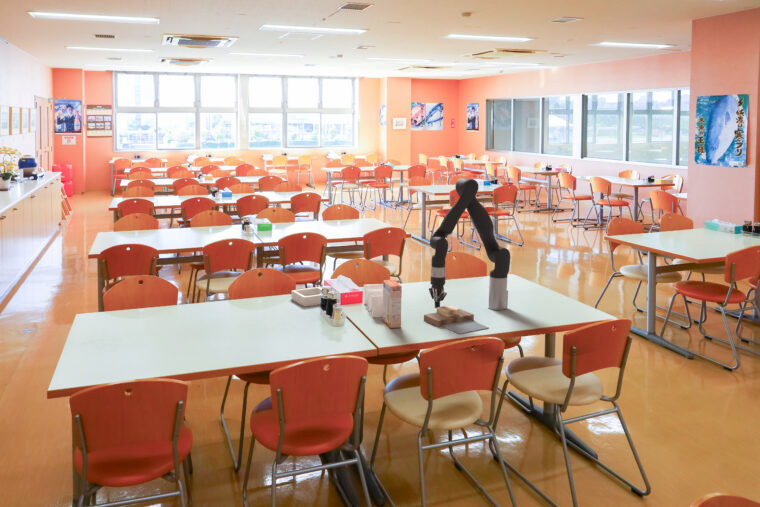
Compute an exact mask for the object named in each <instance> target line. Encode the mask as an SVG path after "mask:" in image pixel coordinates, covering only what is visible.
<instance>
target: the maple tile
mask: <svg viewBox="0 0 760 507" xmlns="http://www.w3.org/2000/svg"><path fill="white" fill-rule="evenodd" d="M459 309H460V308H458V307H455V306H452V305H450V304H449V305H443V306H440V307H437V309H436V313H437V314H440V315H442V316H444V317H451V316H456V315H459Z"/></svg>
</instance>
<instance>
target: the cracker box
mask: <svg viewBox="0 0 760 507" xmlns="http://www.w3.org/2000/svg"><path fill="white" fill-rule="evenodd" d="M382 284H383V317H382V321H383V322H384V323H385V325H386V326H387V327H388V328H389V329H398V328H401V327H402V295H403V294H402V293H403V292H402V291H403V290H402V285H401V284H399V283H398V282H397V281H396V280H395V279H383V282H382Z"/></svg>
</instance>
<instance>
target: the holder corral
mask: <svg viewBox="0 0 760 507" xmlns="http://www.w3.org/2000/svg"><path fill="white" fill-rule="evenodd" d="M322 289H323V288H322V287H320V286H317V287H316V286H315V287H314V286H313V287H308V288H307V287H306V288H301V289H293V290H291V300H292V301H294V302H296V303H298V304H299V305H301V306H302V307H308V306H309V307H311V306H317V305H318V306H319V305H321V304H320V297H321V294H320V293H321V291H322Z"/></svg>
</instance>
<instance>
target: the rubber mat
mask: <svg viewBox="0 0 760 507" xmlns="http://www.w3.org/2000/svg"><path fill="white" fill-rule="evenodd" d="M441 327H442V328H444V329H447V330H449V331H451V332H453V333H456V334H458V335H462V334H466V333H467V334H468V333H473V332H479V331H483V330H487V329H488V330H489V328H490V327H489V326H486V325H484V324H481V323H479V322H476V321H474V320H468V321H463V322H457V323H452V324H447V325H442V326H441Z"/></svg>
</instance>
